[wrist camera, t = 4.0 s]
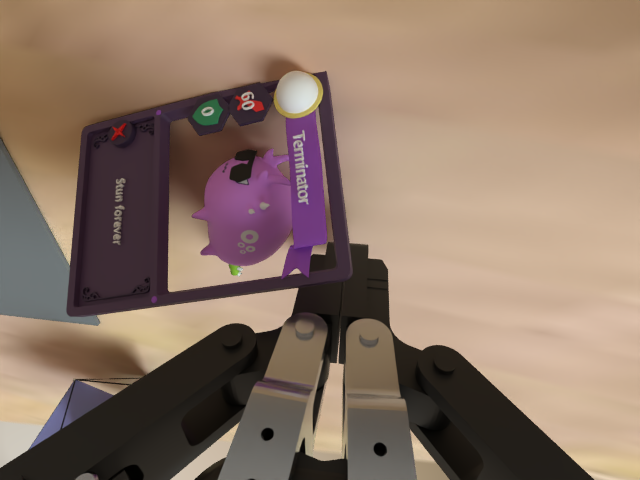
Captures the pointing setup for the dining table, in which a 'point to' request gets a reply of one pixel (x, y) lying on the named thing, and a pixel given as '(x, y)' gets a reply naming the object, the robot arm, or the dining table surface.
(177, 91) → the dining table surface
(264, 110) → the game card
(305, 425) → the robot arm
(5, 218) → the mat
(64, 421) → the geometric puzzle
